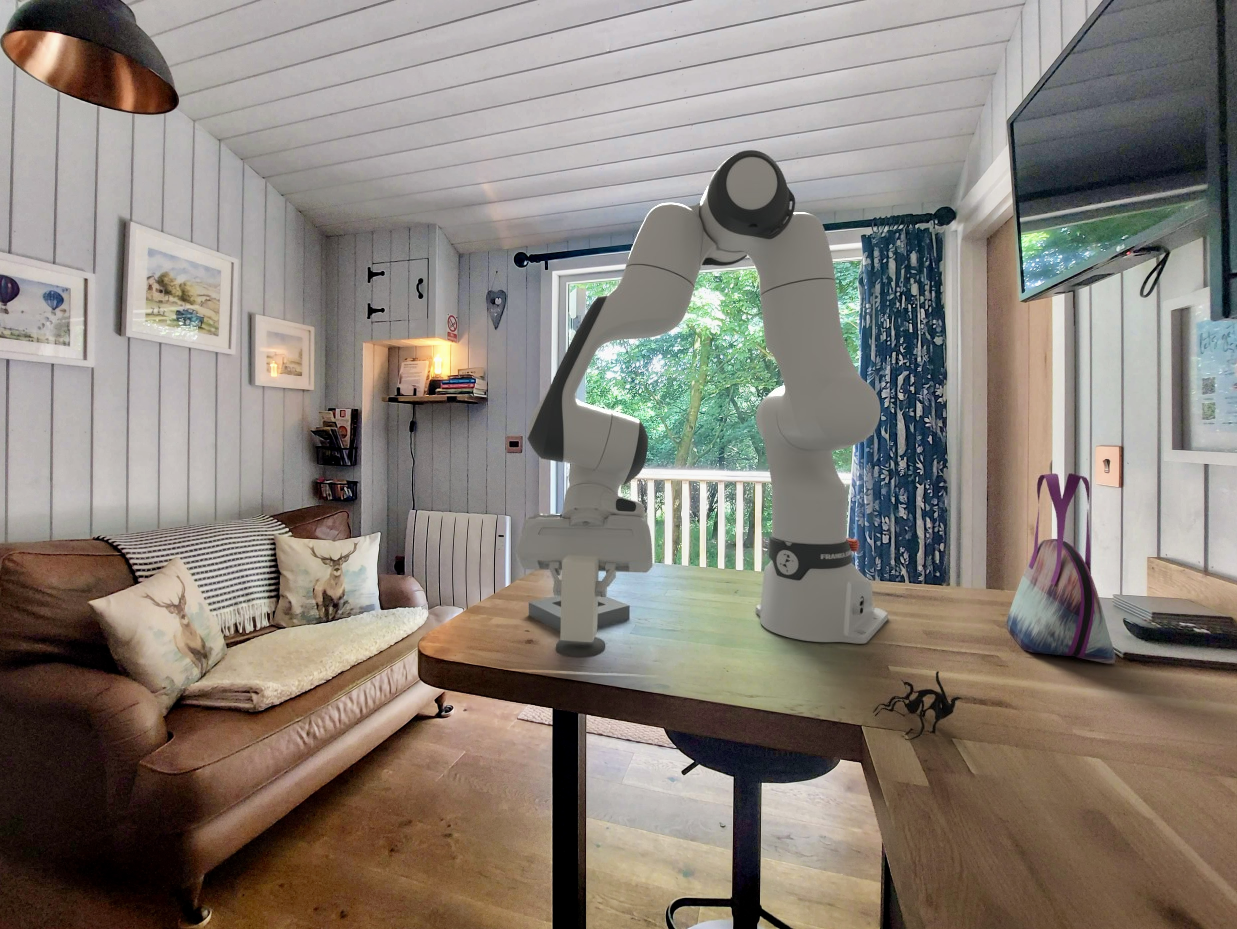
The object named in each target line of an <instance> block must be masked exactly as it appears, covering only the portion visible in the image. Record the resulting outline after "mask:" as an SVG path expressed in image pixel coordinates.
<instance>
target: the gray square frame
mask: <svg viewBox="0 0 1237 929" xmlns="http://www.w3.org/2000/svg"><path fill="white" fill-rule="evenodd" d="M630 612H631V611H630V604H628V603H625V602H622V601H619V600H617V599H613V598H611V597H608V596H606V597H598V616H597V629H598V628H602V627H606V626H609V625H612V624H616V623H621V622H622V621H627V620H630V618H631V616H630ZM528 616H529V617H531V618H532V619H535V620H537V621H539V622H540V623H543V624H545V625H546V626H549V627H550V628H552V629H555V630H556V631H558V632H560V633H561V596H550V597H545V598H541V599H540V598H539V599H537V600H533V601H529V602H528Z"/></svg>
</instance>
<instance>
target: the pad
mask: <svg viewBox="0 0 1237 929" xmlns="http://www.w3.org/2000/svg"><path fill="white" fill-rule="evenodd" d="M555 644H556V645H555V650H556V652H557V653H559V654H560V655H562V656H564V657H565V656H566V657H570V658H587V657H593V656H596V655H599V654H601V653H602V652H604V651H605V649H606V642H605V641H604V640H603V639H602V638H600V637H596V636H595V637H594V640H593V642H581V641H565V640H558V642H557V643H555Z"/></svg>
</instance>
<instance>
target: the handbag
mask: <svg viewBox="0 0 1237 929" xmlns="http://www.w3.org/2000/svg"><path fill="white" fill-rule="evenodd" d="M1044 480H1045V482H1046V486H1047V489H1048V493H1049V496H1050V499H1051V502H1052V504H1053V509H1054V511H1055V516H1056V517H1055V518H1056V538H1050V539H1044V540H1042V541H1040V542H1039V526H1040V524H1039V519H1040V507H1038V510H1037V511H1038V512H1037V518H1036V527H1035V534H1034V543H1033V545H1034V546H1033V553H1032V554H1031V556H1030V558H1029V560H1028V563H1027V565H1026V567H1025V569H1024V572H1023V574H1022V577H1021V579H1020V582H1019V585H1018V588H1017V589H1016V592H1015V594H1014V598H1013V601H1012V603H1011V606H1010V610H1009V612H1008V616H1007V618H1006V629H1007V631H1008V633H1009V635H1011V636H1012V637H1013V639H1014V640H1015V641H1016V642H1017V644H1018V645H1019V647H1020V648H1022V649H1023V651H1028V652H1030V653H1035V654H1045V655H1055V656H1056V655H1057V656H1058V655H1059V656H1066V657H1067V656H1068V657H1069V656H1070V657H1076V658H1078V659H1082V660H1083V659H1084V660H1089V661H1094V662H1099V663H1103V664H1115V663H1116V662H1115V661H1116V653H1115V649H1114V646H1113V643H1112V638H1111V636H1110V633H1109V629H1108V625H1107V622H1106V618H1105V614H1104V610H1103V606H1102V603H1101V599H1100V597H1099V594H1098V590H1097V588H1096V584H1095V582H1094V579H1093V576H1092V573H1091V541H1090V540H1091V539H1090V537H1091V536H1090V522H1089V521H1090V519H1089V516H1090V515H1089V510H1087V512H1086V534H1085V535H1086V537H1085V551H1084V552H1085V553H1084V556H1085V557H1084V558H1085V559H1084V558H1083V556H1082V555H1081V554H1080V553H1079V551H1078V550H1077V549H1076V548H1075V547H1074V546H1073V544H1071V543H1069V542H1068V541H1065V540H1064V538H1065V529H1066V519H1067V512H1068V510H1069V509H1068V508H1069V506H1070V503H1071V501H1072V499H1073V497H1074V495H1075V493H1076V492H1077V488H1078V487H1079V484H1080V480H1082V481H1081V482H1083V484H1084V488H1085V492H1086V500H1087V504H1089V503H1090V492H1091V491H1090V482H1089V480H1088V478H1087V477H1086V476H1083V475H1079V474H1074V473H1068V475H1067V479H1066V481H1065V486H1064V490H1063V493H1062V494H1061V492H1062V491H1061V486H1060V480H1059V474H1058V473H1045V474H1041V475H1039V477H1038V478H1037V483H1036V492H1037V493H1036V495H1037V501H1038V504H1040V499H1041V498H1040V496H1041V491H1042V490H1041V489H1042V487H1043V482H1044Z"/></svg>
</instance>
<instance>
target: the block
mask: <svg viewBox="0 0 1237 929" xmlns="http://www.w3.org/2000/svg"><path fill="white" fill-rule="evenodd" d="M599 572H600V571H599V562H598V556H579V555H567V556H566V557H565V559H564V560H563V561H562V570H561V580H562V585H561V632H560V634H559V637H560V638H559V639H560V640H565V641H581V642H593V640H594V637H596V634H597V632H598V628H597V616H598V597H596V594H595V588H596V581H599ZM560 640H559V641H560Z"/></svg>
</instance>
